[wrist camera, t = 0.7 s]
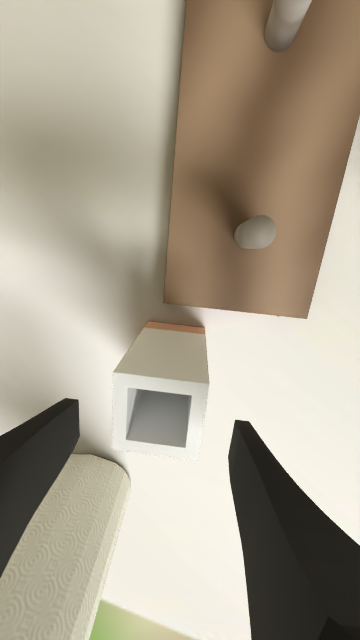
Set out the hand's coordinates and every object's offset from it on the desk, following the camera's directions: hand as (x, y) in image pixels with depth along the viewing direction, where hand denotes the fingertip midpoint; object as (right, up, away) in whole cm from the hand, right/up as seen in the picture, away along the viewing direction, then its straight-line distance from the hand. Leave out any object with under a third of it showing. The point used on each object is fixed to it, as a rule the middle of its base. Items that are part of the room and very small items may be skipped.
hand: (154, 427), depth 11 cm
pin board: (+6, +15, +4) cm, 17 cm away
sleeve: (+1, +2, +8) cm, 9 cm away
